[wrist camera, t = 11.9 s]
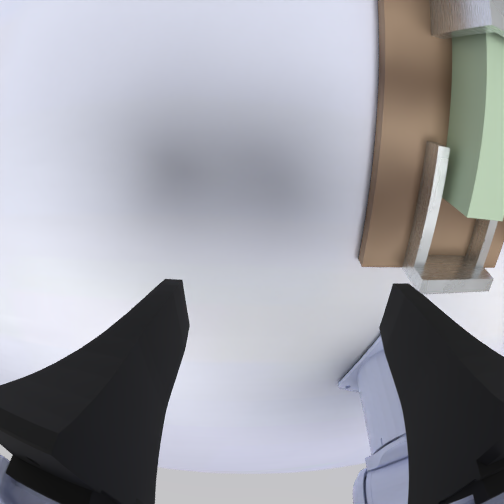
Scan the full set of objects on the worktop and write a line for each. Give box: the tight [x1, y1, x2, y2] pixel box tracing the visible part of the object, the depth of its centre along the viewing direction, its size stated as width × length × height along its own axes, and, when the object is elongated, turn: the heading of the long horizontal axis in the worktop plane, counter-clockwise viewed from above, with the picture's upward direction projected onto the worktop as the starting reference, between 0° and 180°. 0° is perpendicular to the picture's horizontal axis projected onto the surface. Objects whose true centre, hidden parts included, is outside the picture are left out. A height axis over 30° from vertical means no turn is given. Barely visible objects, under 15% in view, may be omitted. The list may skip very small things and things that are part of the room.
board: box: [358, 0, 504, 268], centre depth 14 cm, size 22×12×1 cm, turn 0°
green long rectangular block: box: [442, 32, 504, 221], centre depth 11 cm, size 13×3×4 cm, turn 0°
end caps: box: [402, 0, 504, 294], centre depth 11 cm, size 22×6×6 cm, turn 0°
